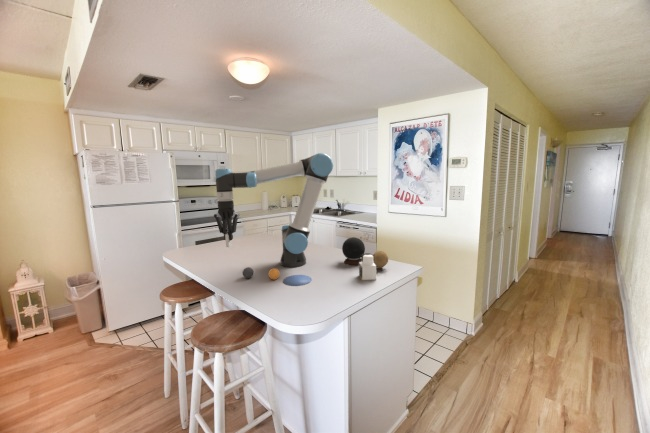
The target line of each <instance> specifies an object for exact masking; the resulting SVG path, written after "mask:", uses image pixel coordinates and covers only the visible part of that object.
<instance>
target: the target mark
mask: <svg viewBox="0 0 650 433" xmlns="http://www.w3.org/2000/svg"><path fill="white" fill-rule="evenodd" d="M282 282H283V284H284V285H287V286H291V287H292V286H293V287H294V286H295V287H299V286H304V285H308V284H310V283H311V282H312V277H311V276H309V275H305V274H294V275H290V276H287V277H285V278H284V279H283V281H282Z"/></svg>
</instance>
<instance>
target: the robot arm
mask: <svg viewBox="0 0 650 433" xmlns="http://www.w3.org/2000/svg"><path fill="white" fill-rule="evenodd" d="M333 162H334V161H333V159H332V157H330V156H329V155H328V154H326V153H323V152H320V153H319V152H318V153H315V154H314V155H311V156H309V157H306V158H303V159H299V161H297V162H291V163H287V164H283V165H277V166H272V167H268V168H262V169H261V168H260V169H257V170H252V171H251V170H250V171H245V172H243V171H242V172H232V169H231V168H217V169H216V170H214V171H215V177H214V179H215V186H216V187H215V188H216V189H215V190H216V197H217V198H216V199H217V209H218V210H217V213H214V214H213V217H214V218H215V221H216V224H217V227H218V232H219V233H220V234H222V235H223V239H224V240H223V241H225V247H226V248H230V247H232V240H233V234H234V233H236V232H237V226H238V224H237V223H238V219H239V216H240V213H237V212H236V211H235V209H234V207H235V205H234V200H233V199H234V193H233V192H234V190H233V189H237V188H239V189H241V188H243V189H244V188H256V187H257V186H258V185H262V184H265V183H270V182H277V181H280V180H286V179H290V178H295V177H301V176H302V177H303V178H306V181H305V185H304V187H303V190H302V194H301V196H300V199H299V203H298V206H297V209H296V212H295V215H294V218H293V221H292V222H291V223H290V224H284V225H282V227H281V238H282V239H281V240H282V254H281V256H280V265H281V267H286V268H295V267H296V268H297V267H301V266H305V265H306V264H307V257H306V255H305V251H306V249H307V248H308V245H309V244H308V243H309V240H308V239H309V236H310V232H311V230H310V228H309V227H310V225H311V224H310V223H311V220H312V218H313V215H314V211H315V207H316V205H317V202H318V199H319V196H320V193H321V189H322V188H323V185H324V184H326V183H327V181H328V178H329V175H330V174H331V173H332V171H333V169H334V163H333Z"/></svg>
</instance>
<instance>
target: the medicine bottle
mask: <svg viewBox="0 0 650 433" xmlns="http://www.w3.org/2000/svg"><path fill="white" fill-rule="evenodd" d="M373 254H374V253H373ZM373 254H372V253H369V252H368V253H367V252H364V254H362V255H361V262H359V265H358V270H359V271H358V274H359V275H358V276H359V277H360V279H361V281H374V280H377V267H376V265H375V264H374V255H373Z"/></svg>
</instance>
